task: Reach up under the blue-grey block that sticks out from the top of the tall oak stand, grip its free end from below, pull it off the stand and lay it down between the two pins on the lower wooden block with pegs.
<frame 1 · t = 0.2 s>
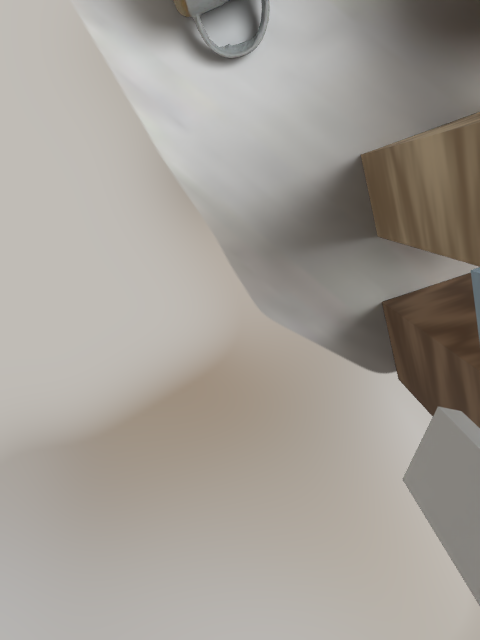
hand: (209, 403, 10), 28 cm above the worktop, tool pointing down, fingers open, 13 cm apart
stand: (440, 172, 35), on the worktop
wooden block with pegs: (461, 319, 40), on the worktop
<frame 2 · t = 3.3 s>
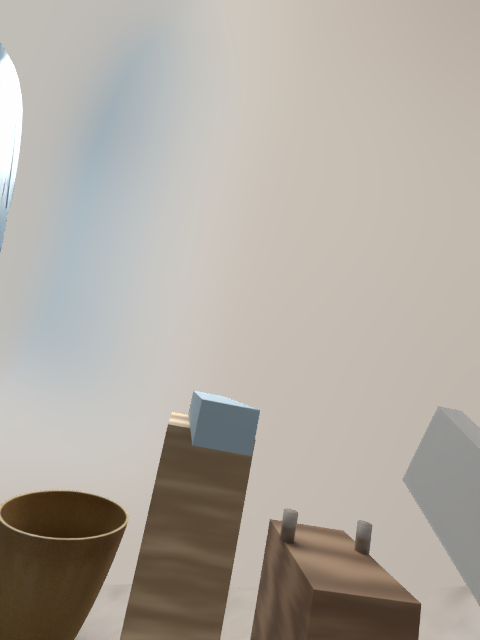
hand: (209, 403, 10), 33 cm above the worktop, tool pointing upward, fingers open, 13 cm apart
blue-grey block: (210, 429, 35), point 30 cm above the worktop, touching stand
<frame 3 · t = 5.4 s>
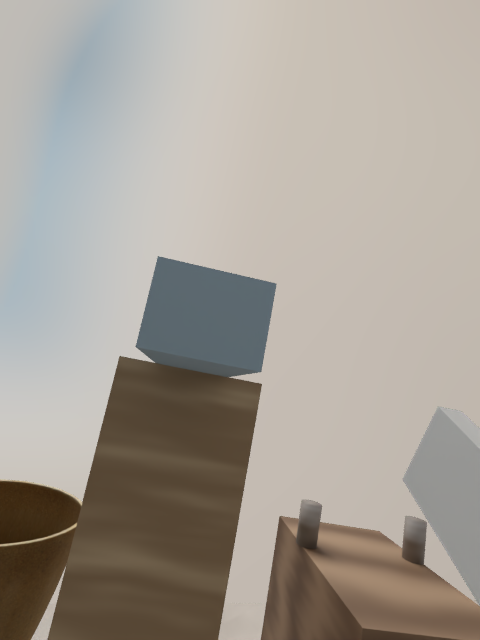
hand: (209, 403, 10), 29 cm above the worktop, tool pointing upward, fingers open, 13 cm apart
blue-grey block: (191, 371, 22), point 30 cm above the worktop, touching stand
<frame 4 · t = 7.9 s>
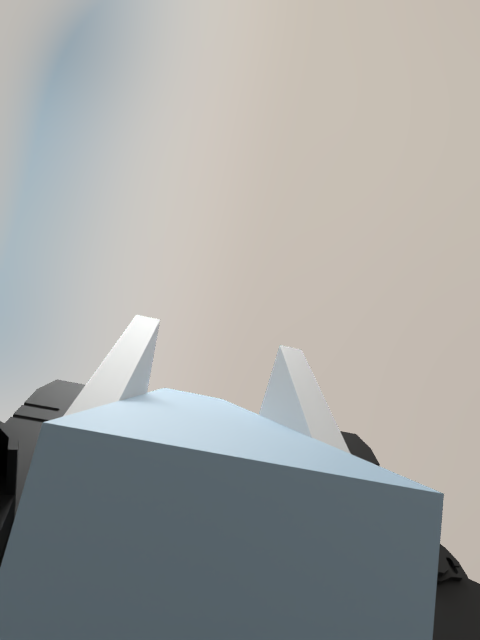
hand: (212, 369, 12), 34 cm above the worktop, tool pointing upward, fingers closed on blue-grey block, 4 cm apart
blue-grey block: (184, 482, 14), point 30 cm above the worktop, touching gripper, stand
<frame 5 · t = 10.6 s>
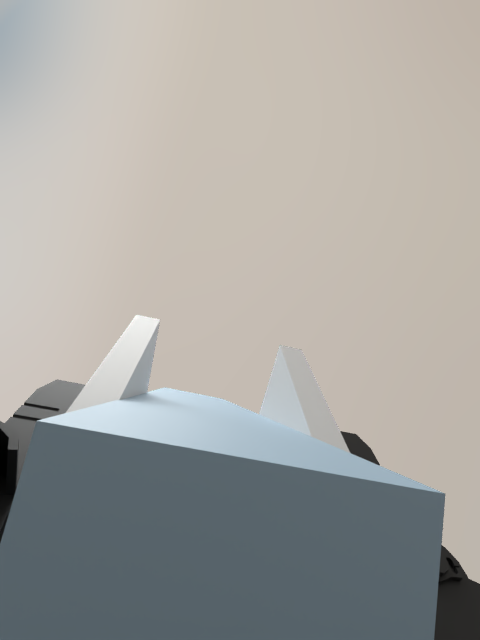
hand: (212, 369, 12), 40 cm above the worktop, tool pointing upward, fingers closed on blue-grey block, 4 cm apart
blue-grey block: (184, 481, 14), point 36 cm above the worktop, touching gripper
when the fingers open (25 cm above the worktop, at t = 13.5 s): blue-grey block drops 1 cm, resting on wooden block with pegs.
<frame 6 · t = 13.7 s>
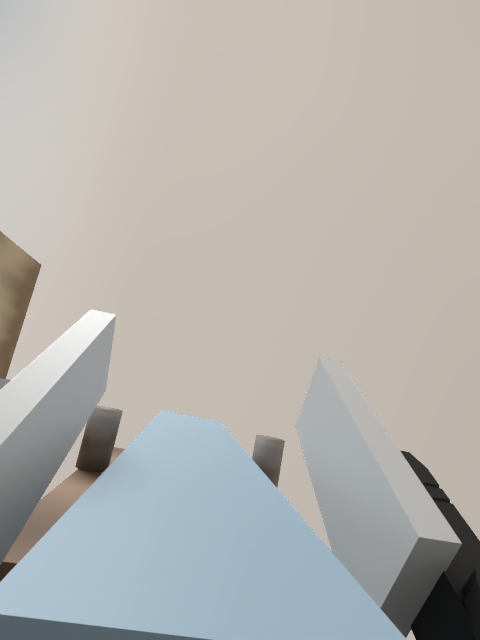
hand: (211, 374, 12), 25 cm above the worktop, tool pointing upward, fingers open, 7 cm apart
blue-grey block: (176, 525, 13), point 19 cm above the worktop, touching wooden block with pegs
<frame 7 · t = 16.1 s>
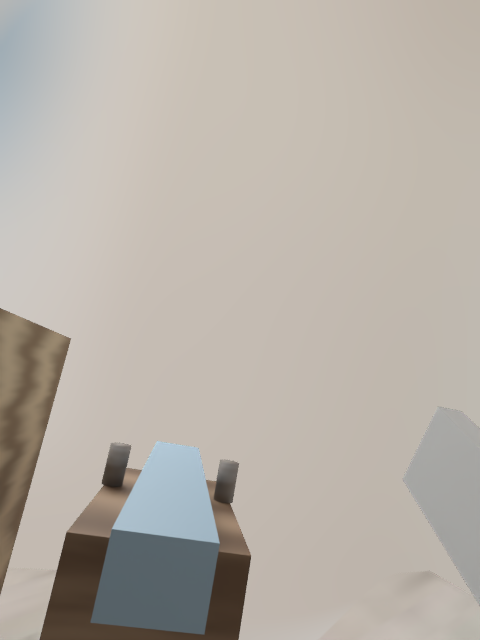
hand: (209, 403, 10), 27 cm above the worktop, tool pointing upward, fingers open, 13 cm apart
blue-grey block: (165, 518, 23), point 19 cm above the worktop, touching wooden block with pegs
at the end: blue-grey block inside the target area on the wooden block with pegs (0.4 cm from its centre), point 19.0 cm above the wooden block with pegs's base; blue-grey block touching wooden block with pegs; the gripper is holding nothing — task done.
